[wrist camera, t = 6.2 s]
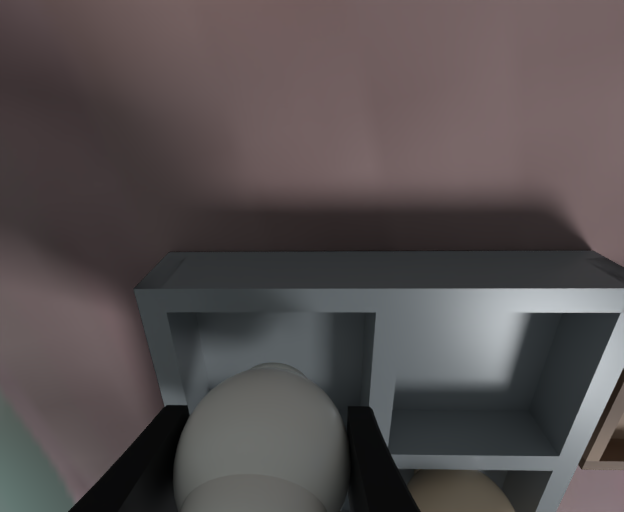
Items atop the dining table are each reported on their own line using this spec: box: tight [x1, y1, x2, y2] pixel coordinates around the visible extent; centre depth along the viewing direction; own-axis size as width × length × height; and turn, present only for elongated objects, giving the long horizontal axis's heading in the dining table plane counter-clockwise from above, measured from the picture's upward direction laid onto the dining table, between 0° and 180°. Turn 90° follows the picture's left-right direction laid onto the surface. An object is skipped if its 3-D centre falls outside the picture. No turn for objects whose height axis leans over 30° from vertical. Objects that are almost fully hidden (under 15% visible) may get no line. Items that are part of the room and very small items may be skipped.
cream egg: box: [173, 362, 351, 512], centre depth 9 cm, size 5×5×6 cm
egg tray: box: [134, 251, 624, 512], centre depth 14 cm, size 15×15×3 cm
